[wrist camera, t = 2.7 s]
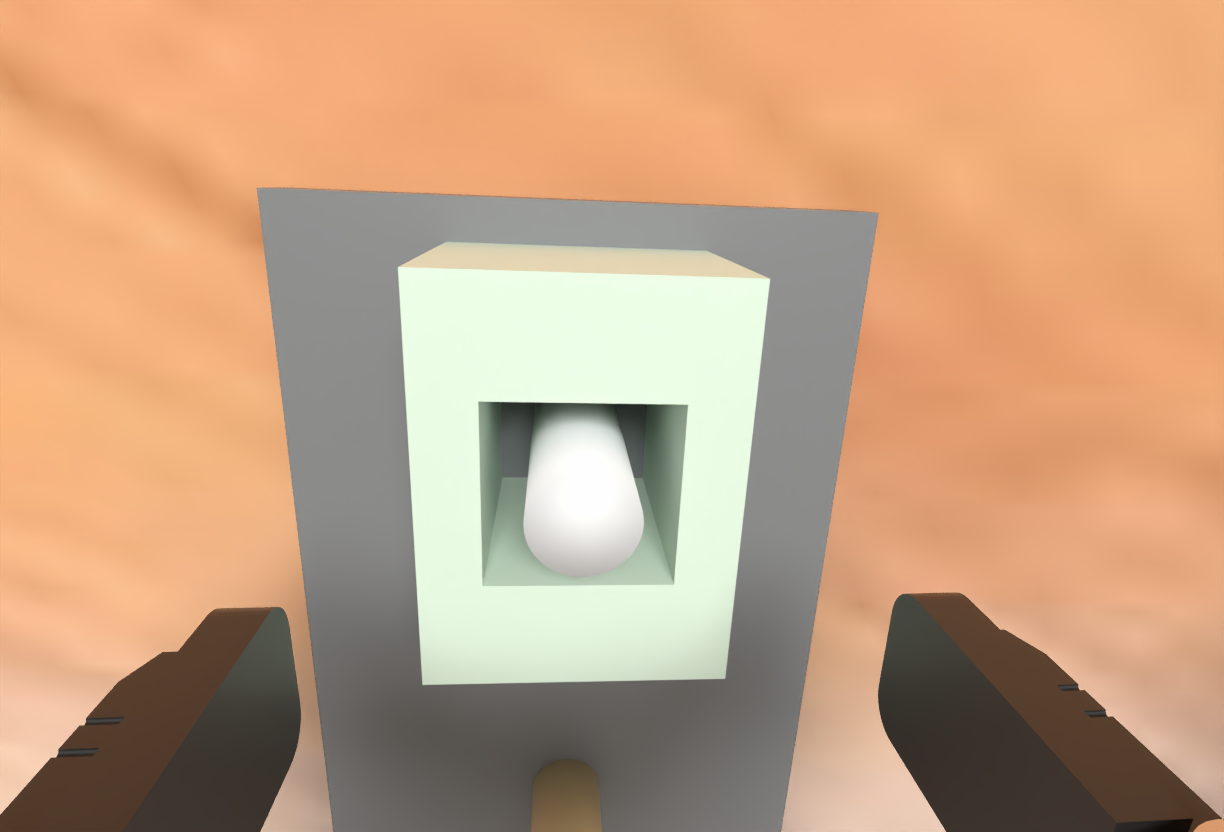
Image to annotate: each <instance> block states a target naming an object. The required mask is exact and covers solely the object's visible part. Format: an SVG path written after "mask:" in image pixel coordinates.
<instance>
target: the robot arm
mask: <svg viewBox="0 0 1224 832" xmlns="http://www.w3.org/2000/svg"><path fill="white" fill-rule="evenodd" d="M878 702H879V710H880V715H881V719H882V723H883V726H884V729H885V731H886V734H887V736H888V738H889V740H890V741H891V743H892V745H893V746H894V748H895V749H896V751H897V753H898V754H899V756H900V758H901V759H902V761H903V762H904V764H905V766H906V767H907V769H908V770H909V772H910V774H911V775H912V777H913V779H914V780H915V782H916V783H917V785H918V787H919V788H920V790H921V791H922V793H923V795H924V796H925V798H926V800H927V801H928V803H929V804H930V806H931V808H932V809H933V811H934V813H935V814H936V816H937V817H938V819H939V821H940V822H941V824H942V825H943V827H944V829H945V830H946V832H1224V819H1222V818H1221V817H1220V816H1219V815H1218V814H1217V813H1216V812H1215V811H1213V810H1212V809H1211V808H1210V807H1209V806H1208V805H1207V804H1206V803H1205V802H1204V801H1203V800H1202V799H1201V798H1200V797H1198V796H1197V795H1196V794H1195V793H1194V792H1193V791H1192V790H1191V789H1190V788H1189V787H1188V786H1187V785H1186V784H1185V783H1183V782H1182V781H1181V780H1180V779H1179V778H1178V777H1177V776H1176V775H1175V774H1174V773H1173V772H1172V771H1171V770H1170V769H1168V768H1167V767H1166V766H1165V765H1164V764H1163V763H1162V762H1161V761H1160V760H1159V759H1158V758H1157V757H1156V756H1155V755H1153V754H1152V753H1151V752H1150V751H1149V750H1148V749H1147V748H1146V747H1145V746H1144V745H1143V744H1142V743H1141V742H1139V741H1138V740H1137V739H1136V738H1135V737H1134V736H1133V735H1132V734H1131V733H1130V732H1129V731H1128V730H1127V729H1126V728H1124V727H1123V726H1122V725H1121V724H1120V723H1119V722H1118V721H1117V720H1116V719H1115V718H1114V717H1108V716H1107V715H1106V712H1105V711H1106V710H1105V709H1104V708H1103V707H1102V706H1101V705H1100V704H1099V703H1098V702H1097V701H1096V700H1094V699H1093V698H1092V697H1091V696H1090V695H1089V694H1088V693H1087V692H1086V691H1085V690H1079V688H1078V684H1077V683H1076V682H1075V681H1074V680H1073V679H1072V678H1071V677H1070V676H1069V675H1068V674H1067V673H1066V672H1064V671H1063V670H1062V669H1061V668H1060V667H1059V666H1058V665H1057V664H1056V663H1055V662H1054V661H1053V660H1052V659H1051V658H1049V657H1048V656H1047V655H1046V654H1045V653H1043V652H1041V651H1040V650H1038V649H1036V648H1035V647H1033V646H1031V645H1030V644H1028V643H1026V642H1024V641H1023V640H1021V639H1019V638H1018V637H1016V636H1014V635H1013V634H1011V633H1009V632H1008V631H1006V630H1000V629H999V628H998V627H997V626H996V625H995V624H994V623H993V622H992V621H991V620H990V619H989V618H988V617H987V616H985V615H984V614H983V613H982V612H981V611H980V610H979V609H978V608H977V607H976V606H975V605H974V604H973V603H972V602H971V601H970V600H969V599H968V598H967V597H966V596H964V595H962V594H960V593H919V594H902V595H900V596H899V597H898V598H897V600H896V601H895V603H894V606H893V610H892V615H891V621H890V626H889V632H888V638H887V643H886V649H885V655H884V660H883V666H882V671H881V677H880V683H879V690H878ZM300 722H301V709H300V700H299V693H298V686H297V679H296V671H295V664H294V657H293V650H292V643H291V635H290V628H289V622H288V618H287V615H286V613H285V611H284V610H283V609H282V608H280V607H264V608H222V609H215V610H213V611H212V612H210V613H209V614H208V615H207V617H206V618H205V619H204V620H203V621H202V623H201V624H200V625H199V626H198V628H197V629H196V630H195V631H194V633H193V634H192V635H191V636H190V637H189V639H188V640H187V641H186V642H185V644H184V645H183V646H182V647H181V648H180V650H179V651H178V652H162V653H161V654H159V655H158V656H156V657H155V658H153V659H152V660H150V661H149V662H147V663H146V664H144V665H143V666H141V667H140V668H139V669H137V670H136V671H134V672H133V673H131V674H130V675H128V676H127V677H125V678H124V679H122V680H121V681H119V682H118V683H117V684H116V685H115V686H114V687H113V689H112V690H111V691H110V692H109V693H108V694H107V695H106V696H105V698H104V699H103V700H102V701H101V702H100V703H99V704H98V705H97V707H96V708H95V709H94V710H93V711H92V712H91V713H90V714H89V716H88V717H87V718H86V723H85V725H84V726H79V727H78V728H77V729H76V730H75V731H74V732H73V734H72V735H71V736H70V737H69V738H68V739H67V740H66V742H65V743H64V744H63V745H62V746H61V747H60V748H59V749H58V755H57V757H56V758H50V760H49V761H48V762H47V763H46V764H45V765H44V766H43V767H42V769H41V770H40V771H39V772H38V773H37V774H36V775H35V776H34V778H33V779H32V780H31V781H30V782H29V783H28V784H27V785H26V787H25V788H24V789H23V790H22V791H21V792H20V793H19V794H18V796H17V797H16V798H15V799H14V800H13V801H12V802H11V804H10V805H9V806H8V807H7V808H6V809H5V810H4V811H3V813H2V814H1V815H0V832H260V831H261V829H262V827H263V824H264V822H265V820H266V818H267V816H268V814H269V811H270V809H271V807H272V805H273V803H274V800H275V798H276V796H277V794H278V792H279V789H280V787H281V785H282V783H283V781H284V779H285V776H286V774H287V772H288V770H289V768H290V765H291V763H292V761H293V758H294V755H295V752H296V748H297V744H298V739H299V732H300Z"/></svg>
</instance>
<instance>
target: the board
mask: <svg viewBox="0 0 1224 832" xmlns="http://www.w3.org/2000/svg"><path fill="white" fill-rule="evenodd" d="M257 193H258V201H259V210H260V218H261V226H262V235H263V243H264V252H265V260H266V268H267V277H268V285H269V294H270V302H271V310H272V319H273V327H274V336H275V344H276V352H277V361H278V369H279V378H280V386H281V394H282V403H283V411H284V420H285V428H286V436H287V445H288V453H289V462H290V470H291V478H292V487H293V495H294V504H295V512H296V520H297V529H298V537H299V546H300V554H301V562H302V571H303V579H304V588H305V596H306V604H307V613H308V621H309V630H310V638H311V646H312V655H313V663H314V672H315V680H316V688H317V697H318V705H319V714H320V722H321V730H322V739H323V747H324V756H325V764H326V772H327V781H328V789H329V798H330V806H331V814H332V823H333V831H334V832H781V828H782V822H783V816H784V809H785V803H786V797H787V790H788V784H789V778H790V771H791V765H792V759H793V752H794V746H795V740H796V733H797V727H798V721H799V714H800V708H801V702H802V695H803V689H804V683H805V676H806V670H807V664H808V657H809V651H810V644H811V638H812V632H813V625H814V619H815V613H816V606H817V600H818V594H819V587H820V581H821V575H822V568H823V562H824V556H825V549H826V543H827V537H828V530H829V524H830V518H831V511H832V505H833V499H834V492H835V486H836V479H837V473H838V467H839V460H840V454H841V448H842V441H843V435H844V429H845V422H846V416H847V410H848V403H849V397H850V391H851V384H852V378H853V372H854V365H855V359H856V353H857V346H858V340H859V334H860V327H861V321H862V315H863V308H864V302H865V295H866V289H867V283H868V276H869V270H870V264H871V257H872V251H873V245H874V238H875V232H876V226H877V219H878V213H873V212H862V211H849V210H824V209H800V208H775V207H750V206H726V205H701V204H676V203H651V202H627V201H602V200H577V199H553V198H528V197H503V196H478V195H454V194H429V193H404V192H380V191H355V190H330V189H305V188H257ZM445 242H466V243H495V244H524V245H553V246H582V247H611V248H640V249H668V250H697V251H708V252H711V253H713V254H715V255H718V256H720V257H722V258H724V259H727V260H729V261H731V262H733V263H736V264H738V265H740V266H742V267H745V268H747V269H749V270H752V271H754V272H756V273H758V274H761V275H763V276H765V277H767V278H770V284H769V293H768V302H767V311H766V320H765V329H764V338H763V347H762V356H761V364H760V373H759V382H758V391H757V400H756V409H755V418H754V427H753V436H752V444H751V453H750V462H749V471H748V480H747V489H746V498H745V507H744V516H743V524H742V533H741V542H740V551H739V560H738V569H737V578H736V587H735V596H734V605H733V613H732V622H731V631H730V640H729V649H728V658H727V667H726V676H725V679H690V680H640V681H591V682H541V683H491V684H441V685H422V669H421V652H420V635H419V618H418V601H417V584H416V567H415V550H414V533H413V516H412V499H411V482H410V465H409V448H408V431H407V414H406V397H405V380H404V363H403V345H402V328H401V311H400V294H399V277H398V267H399V266H401V265H403V264H405V263H407V262H409V261H410V260H412V259H414V258H416V257H418V256H420V255H422V254H424V253H426V252H428V251H430V250H432V249H433V248H435V247H437V246H439V245H441V244H443V243H445ZM646 413H647V404H608V403H541V402H502V472H503V477H528V480H527V491H526V501H525V511H524V523H523V527H524V535H525V539H526V542H527V544H528V546H529V548H530V550H531V552H532V553H533V554H534V556H535V557H536V558H537V559H538V560H539V561H540V562H541V563H542V564H544V565H545V566H546V567H548V568H549V569H551V570H553V571H555V572H558V573H560V574H563V575H567V576H572V577H592V576H598V575H601V574H604V573H607V572H609V571H611V570H613V569H615V568H617V567H618V566H620V565H621V564H622V563H624V562H625V561H626V560H627V559H628V558H629V557H630V556H631V555H632V554H633V552H634V551H635V549H636V548H637V546H638V544H639V542H640V540H641V537H642V533H643V527H644V516H643V510H642V506H641V503H640V499H639V495H638V491H637V487H636V484H635V480H634V478H643V463H644V447H645V430H646Z"/></svg>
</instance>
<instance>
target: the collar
mask: <svg viewBox="0 0 1224 832" xmlns="http://www.w3.org/2000/svg"><path fill="white" fill-rule="evenodd" d="M398 277H399V294H400V311H401V328H402V345H403V363H404V380H405V397H406V414H407V431H408V448H409V465H410V482H411V499H412V516H413V533H414V550H415V567H416V584H417V601H418V618H419V635H420V652H421V669H422V685H441V684H491V683H541V682H591V681H640V680H690V679H725V676H726V667H727V658H728V649H729V640H730V631H731V622H732V613H733V605H734V596H735V587H736V578H737V569H738V560H739V551H740V542H741V533H742V524H743V516H744V507H745V498H746V489H747V480H748V471H749V462H750V453H751V444H752V436H753V427H754V418H755V409H756V400H757V391H758V382H759V373H760V364H761V356H762V347H763V338H764V329H765V320H766V311H767V302H768V293H769V284H770V278H767V277H765V276H763V275H761V274H758V273H756V272H754V271H752V270H749V269H747V268H745V267H742V266H740V265H738V264H736V263H733V262H731V261H729V260H727V259H724V258H722V257H720V256H718V255H715V254H713V253H711V252H708V251H697V250H668V249H640V248H611V247H582V246H553V245H524V244H495V243H466V242H445V243H443V244H441V245H439V246H437V247H435V248H433V249H432V250H430V251H428V252H426V253H424V254H422V255H420V256H418V257H416V258H414V259H412V260H410V261H409V262H407V263H405V264H403V265H401V266H399V267H398ZM502 402H541V403H608V404H647V413H646V430H645V447H644V463H643V478H634V480H635V484H636V487H637V491H638V495H639V499H640V503H641V506H642V510H643V516H644V527H643V533H642V537H641V540H640V542H639V544H638V546H637V548H636V549H635V551H634V552H633V554H632V555H631V556H630V557H629V558H628V559H627V560H626V561H625V562H624V563H622V564H621V565H620V566H618V567H617V568H615V569H613V570H611V571H609V572H607V573H604V574H601V575H598V576H592V577H572V576H567V575H563V574H560V573H558V572H555V571H553V570H551V569H549V568H548V567H546V566H545V565H544V564H542V563H541V562H540V561H539V560H538V559H537V558H536V557H535V556H534V554H533V553H532V552H531V550H530V548H529V546H528V544H527V542H526V539H525V535H524V527H523V523H524V511H525V501H526V491H527V480H528V477H503V472H502Z"/></svg>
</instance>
